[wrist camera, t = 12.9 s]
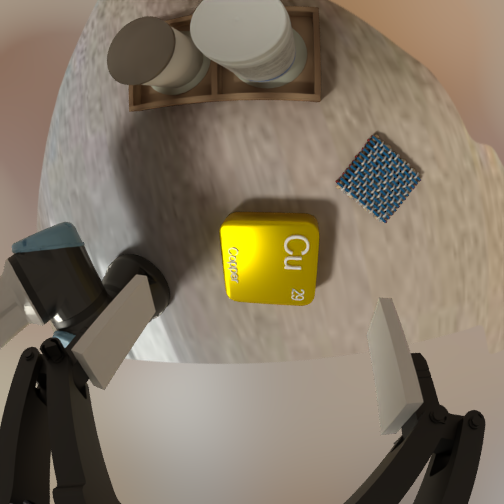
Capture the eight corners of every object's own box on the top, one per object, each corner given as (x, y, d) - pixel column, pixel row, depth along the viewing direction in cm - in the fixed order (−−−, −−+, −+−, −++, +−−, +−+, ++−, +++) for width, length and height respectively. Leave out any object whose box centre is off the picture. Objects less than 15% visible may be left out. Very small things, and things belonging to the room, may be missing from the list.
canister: (149, 93, 35) (106, 91, 26) (150, 42, 31) (109, 29, 21) (204, 85, 34) (171, 76, 24) (205, 31, 29) (173, 8, 20)
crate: (139, 111, 37) (129, 111, 35) (140, 34, 31) (130, 31, 28) (319, 102, 33) (320, 100, 30) (317, 14, 26) (318, 7, 24)
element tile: (224, 211, 44) (216, 221, 40) (318, 212, 41) (320, 224, 37) (232, 287, 51) (225, 303, 47) (313, 292, 48) (313, 309, 44)
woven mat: (382, 224, 40) (385, 229, 38) (332, 183, 39) (333, 187, 37) (421, 176, 35) (426, 178, 33) (372, 131, 34) (375, 131, 32)
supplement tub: (307, 41, 28) (308, 0, 15) (278, 94, 33) (263, 78, 20) (244, 18, 28) (214, -25, 15) (217, 69, 32) (172, 48, 20)
